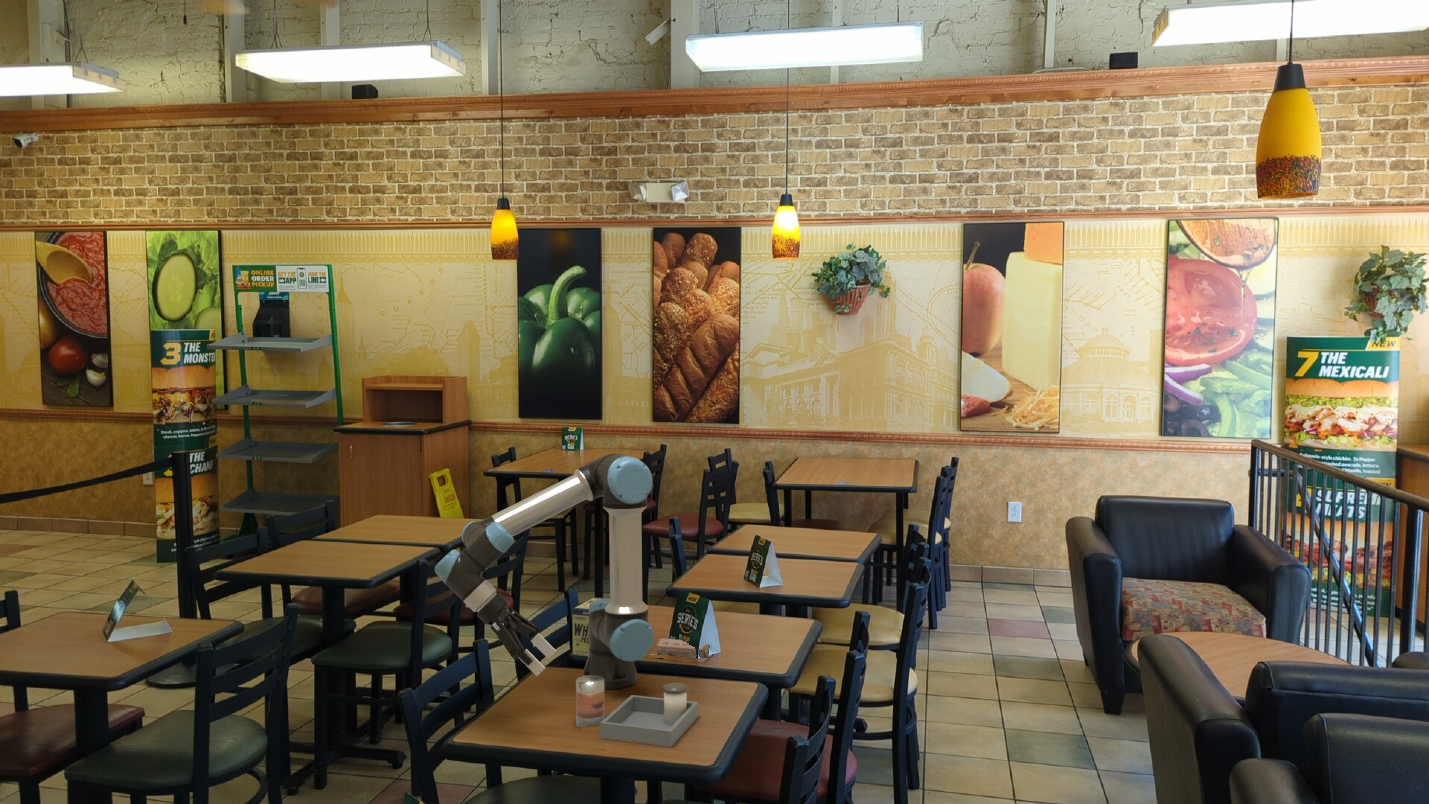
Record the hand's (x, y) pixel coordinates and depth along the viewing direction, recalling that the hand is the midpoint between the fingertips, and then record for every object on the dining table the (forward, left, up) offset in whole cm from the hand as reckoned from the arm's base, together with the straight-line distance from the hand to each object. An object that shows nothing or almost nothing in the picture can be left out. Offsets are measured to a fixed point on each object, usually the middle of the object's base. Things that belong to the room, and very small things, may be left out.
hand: (547, 663), depth 246 cm
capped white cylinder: (+31, +8, -14) cm, 35 cm away
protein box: (-11, +56, -15) cm, 59 cm away
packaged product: (+14, +61, -16) cm, 65 cm away
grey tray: (+26, +3, -15) cm, 30 cm away
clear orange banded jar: (+10, +3, -15) cm, 18 cm away
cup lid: (+31, +8, -6) cm, 33 cm away
